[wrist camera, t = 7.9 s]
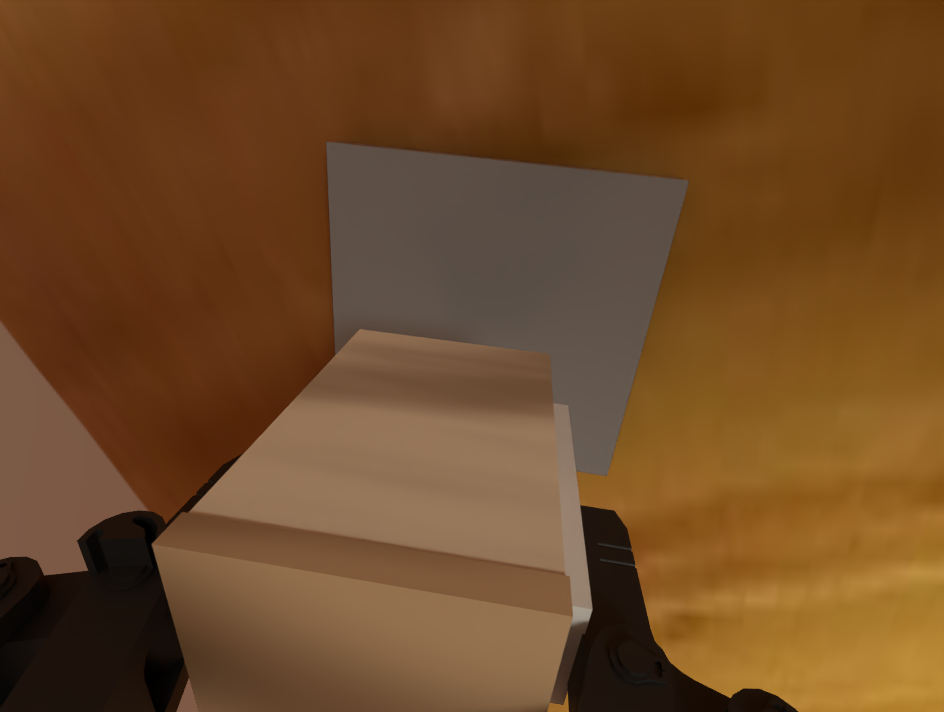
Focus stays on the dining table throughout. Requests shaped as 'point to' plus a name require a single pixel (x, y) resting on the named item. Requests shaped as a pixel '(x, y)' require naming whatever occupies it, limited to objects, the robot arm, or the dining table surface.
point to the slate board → (506, 265)
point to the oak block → (383, 542)
